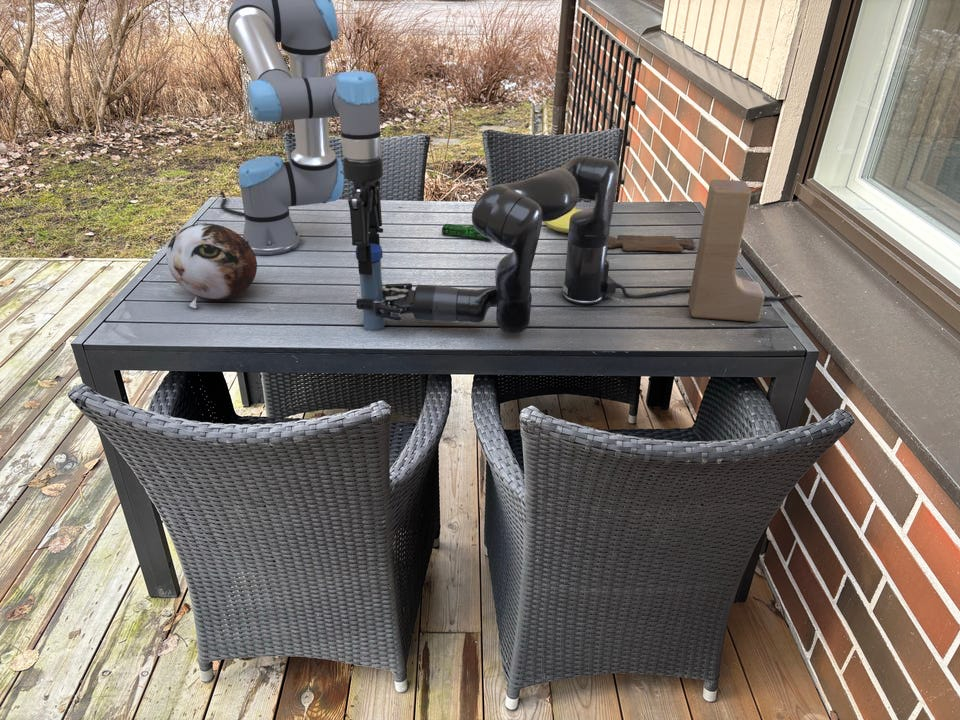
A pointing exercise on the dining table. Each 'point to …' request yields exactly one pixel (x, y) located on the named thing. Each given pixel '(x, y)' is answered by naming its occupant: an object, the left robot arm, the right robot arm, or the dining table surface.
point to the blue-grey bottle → (372, 296)
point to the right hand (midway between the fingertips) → (360, 298)
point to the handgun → (463, 231)
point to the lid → (374, 252)
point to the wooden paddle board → (650, 243)
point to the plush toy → (211, 261)
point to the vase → (562, 222)
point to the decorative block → (723, 258)
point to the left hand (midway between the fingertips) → (370, 267)
